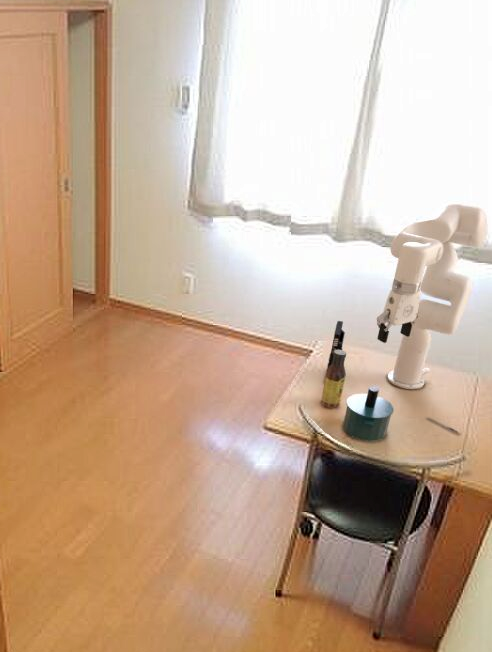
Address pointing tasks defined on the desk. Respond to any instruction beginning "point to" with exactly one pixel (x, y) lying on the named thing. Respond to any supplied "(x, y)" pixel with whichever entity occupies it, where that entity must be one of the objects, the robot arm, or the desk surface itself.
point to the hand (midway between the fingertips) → (393, 337)
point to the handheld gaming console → (336, 341)
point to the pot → (365, 426)
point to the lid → (370, 405)
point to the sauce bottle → (334, 380)
